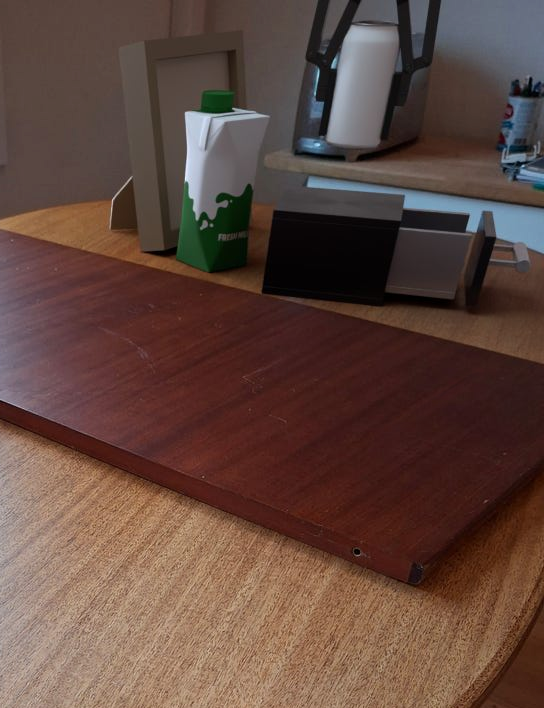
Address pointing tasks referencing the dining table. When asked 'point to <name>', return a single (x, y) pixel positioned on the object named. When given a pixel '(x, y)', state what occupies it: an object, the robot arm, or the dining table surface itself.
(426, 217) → the drawer
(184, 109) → the photo frame
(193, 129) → the milk carton
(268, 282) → the cabinet
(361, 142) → the can
